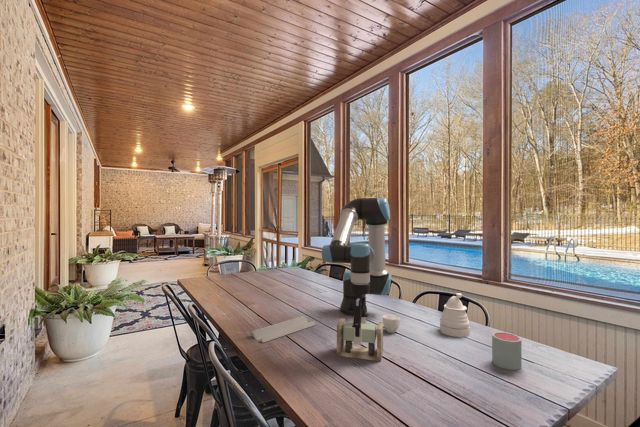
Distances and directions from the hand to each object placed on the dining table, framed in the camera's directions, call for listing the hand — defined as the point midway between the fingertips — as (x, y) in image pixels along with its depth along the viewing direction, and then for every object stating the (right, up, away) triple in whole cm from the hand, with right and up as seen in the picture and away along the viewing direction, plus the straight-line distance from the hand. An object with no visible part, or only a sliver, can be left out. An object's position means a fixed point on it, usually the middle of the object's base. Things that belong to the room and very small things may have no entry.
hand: (360, 338), depth 123 cm
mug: (+54, -6, -6) cm, 55 cm away
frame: (0, -6, 0) cm, 6 cm away
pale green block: (0, 0, 0) cm, 0 cm away
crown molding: (-33, -7, +25) cm, 42 cm away
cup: (+18, -6, +25) cm, 32 cm away
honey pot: (+47, -6, +24) cm, 53 cm away
